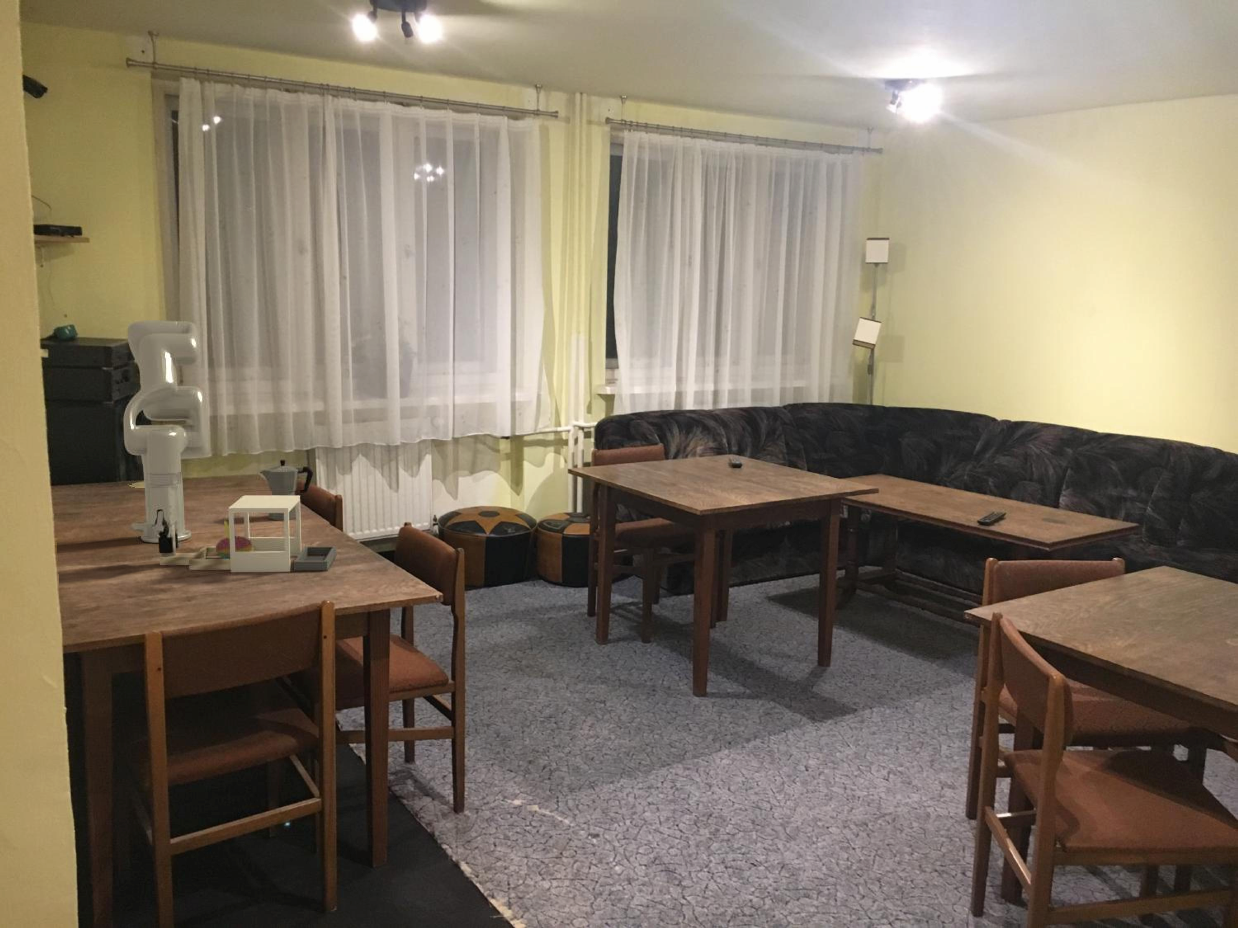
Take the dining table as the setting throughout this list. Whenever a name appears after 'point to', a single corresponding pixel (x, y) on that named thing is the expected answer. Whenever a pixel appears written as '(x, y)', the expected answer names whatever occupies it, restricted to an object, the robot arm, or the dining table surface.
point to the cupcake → (240, 545)
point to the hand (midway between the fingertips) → (168, 550)
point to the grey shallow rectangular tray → (315, 558)
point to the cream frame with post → (196, 557)
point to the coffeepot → (286, 484)
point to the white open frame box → (268, 550)
